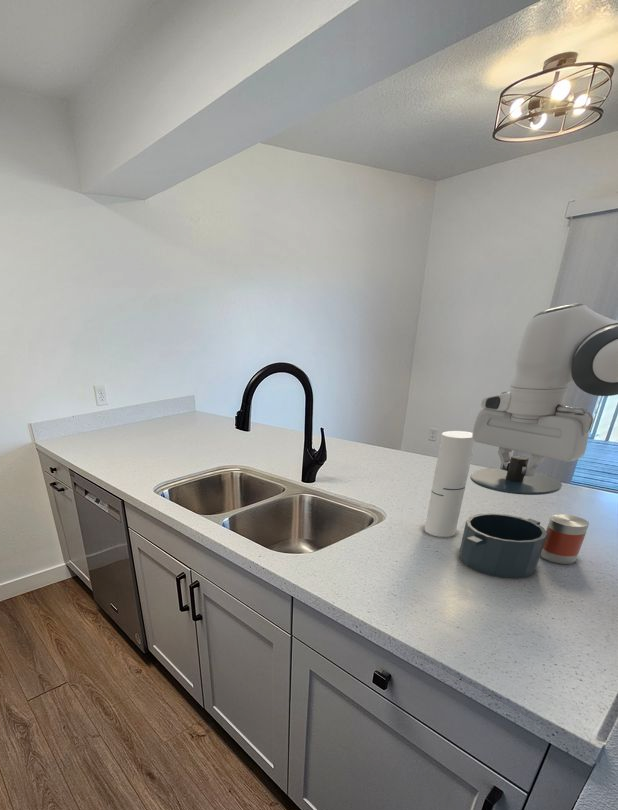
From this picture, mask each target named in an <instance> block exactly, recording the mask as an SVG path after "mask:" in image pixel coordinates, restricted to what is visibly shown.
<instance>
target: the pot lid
mask: <svg viewBox="0 0 618 810" xmlns="http://www.w3.org/2000/svg"><path fill="white" fill-rule="evenodd" d="M529 461H530V458H529V457H527V456H524V455H512V456H510V463H509V467H508V471H506V470H501V469H500V467H489V468H481V469H478V470H475V471H473V472H472V473H471V475H470V480H471V482H472V483H473V484H475V485H477V486H478V487H482V488H484V489H486V490H491V491H494V492H498V493H503V494H511V495H522V496H541V495H549V494H554V493H556V492H559V491H560V490H561V488H562V486H563V484H562V482H561V481H560V479H558V478H555V477H554V476H551V475H549V474H546V473H542V472H539V471H535V472H534V474H533V476H530V477H528V476H524V475H521V472H522V467H523V466H527V465H529Z"/></svg>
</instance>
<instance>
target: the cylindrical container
mask: <svg viewBox="0 0 618 810" xmlns="http://www.w3.org/2000/svg"><path fill="white" fill-rule="evenodd" d="M472 434H473V432H470V431H465V430H447V431H443V432H441V437H440V442H439V447H438V453H437V458H436V462H435V463H436V464H435V470H434V475H433V479H432V487H431V492H430V496H429V503H428V507H427V514H426V518H425V519H426V520H425V526H424V531H425V533H427V534H429V535H431V536H435V537H438V538H450V537H453V536H454V535H456V532H457V527H458V523H459V518H460V513H461V509H462V504H463V499H464V495H465V490H466V486H467V481H468V476H469V472H470V468H471V463H472V460H473V459H472V458H473V453H474V450H475V444H476V442H475V441H474V439H473V437H472Z"/></svg>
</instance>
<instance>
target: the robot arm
mask: <svg viewBox="0 0 618 810" xmlns="http://www.w3.org/2000/svg"><path fill="white" fill-rule="evenodd" d="M515 366H516V370H515V375H514V377H513V379H512V381H511V383H510V386H509V391H504V392H501V393H498V394H494V395H489V396H484V397H483V398H482V399H481V402H480V407H481V408H482V409H480V411H479V412H478V413H477V414H476V415H477V416H476V417H475V421H474V424H473V429H472V433H473V434H472V437H473V439H474V441H475V443H477V444H482V445H487V446H492V447H497V448H498V451H497V453H498V456H499V459H500V467H499V468H500V469H501V470H506V471H508V467H509V463H510V459H511V456H510V453H511V452H512V451H514V452H520V453H524V454H527V455H530V460H531V462H530V463H528V464H527V466H523V467H522V472H521V475H524V476H528V477H530V476H533V474H534V472H536V468H537V467H538V466H539V465H540V464H541V463H543V462H544V461H545V460H546V459H551V460H555V461H561V462H565V463H569V462H575V461H578V460H579V459H581V458H582V457H583V456H584V455H585V453H586V450H587V445H588V440H589V432H590V430H591V428H592V426H593V422H594V416H593V414H592V413H591V412H590V411H588V409H586V408H584V407H574V406H569V405H564V403H565V398H566V395H567V392H568V389H569V385H570V383H571V382H572V381H573V383H574V384H575V385H576V387H578V388H579V389H580V390H581V391H582V392H585V393H586V394H589V395H592V396H595V397H596V396H597V397H612V396H618V320H617V319H616V320H615V319H613V318H611V317H610V318H609V317H607V316H604V315H602V314H600V313H599V312H596V311H594V310H592V309H591V308H589V307H588V306H587V304H585V303H582V302H581V303H580V302H579V303H572V304H566V305H562V306H561V305H560V306H556V307H552V308H548V309H544V310H542V311H540V312H538V313H537V314H535V315H534V316H533V317H531V319H530V320H529V321H528V323H527V324H526V327H525V329H524V332H523V333H522V338H521V340H520V344H519V347H518V352H517V356H516V359H515Z"/></svg>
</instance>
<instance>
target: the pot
mask: <svg viewBox="0 0 618 810" xmlns="http://www.w3.org/2000/svg"><path fill="white" fill-rule="evenodd" d="M546 537H547V532H546V528H544V527H543V526H541V521H539V520H535V519H532V518H527V519H526V518H523V517H520V516H515V515H511V514H505V513H504V514H503V513H490V512H489V513H478V514H475V515H471V516H470V517H468V519H466V521H465V524H464V529H463V534H462V537H461V541H460V547H459V551H458V552H459V553H458V555H459V556H458V557H459V559H460V561H461V562H462V563H463V564H464V565H465V566H467V567H468V568H470V569H472V570H474V571H476V572H478V573H481V574H484V575H488V576H492V577H496V578H497V577H498V578H506V579H521V578H526V577H529V576H531V575H533V574H534V573H535V571H536V569H537V568H538V565H539V562H540V558H541V556H540V555H541V552H542V549H543V546H544V543H545V540H546Z"/></svg>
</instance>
